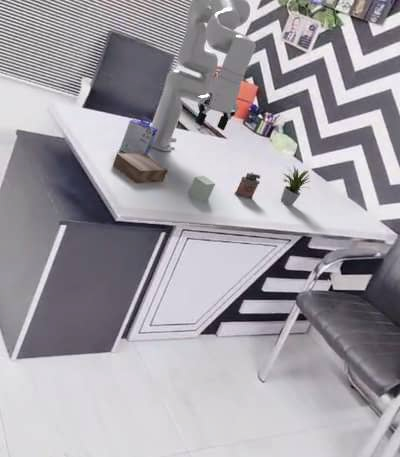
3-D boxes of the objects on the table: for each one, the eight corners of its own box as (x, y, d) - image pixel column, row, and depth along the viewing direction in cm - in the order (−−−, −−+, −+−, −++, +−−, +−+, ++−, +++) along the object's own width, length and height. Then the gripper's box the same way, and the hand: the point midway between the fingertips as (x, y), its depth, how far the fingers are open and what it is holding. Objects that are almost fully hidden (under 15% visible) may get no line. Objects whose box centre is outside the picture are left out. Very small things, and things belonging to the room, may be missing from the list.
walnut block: (140, 166, 190) (145, 153, 188) (162, 182, 185) (167, 170, 183) (112, 166, 179) (117, 153, 177) (135, 184, 174) (140, 170, 172)
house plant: (276, 191, 228) (293, 157, 222) (304, 206, 224) (322, 173, 218) (266, 196, 216) (283, 161, 209) (295, 213, 212) (314, 178, 205)
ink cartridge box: (147, 158, 199) (160, 123, 193) (142, 161, 194) (156, 125, 188) (124, 147, 200) (136, 112, 194) (118, 150, 195) (131, 114, 189)
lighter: (236, 196, 201) (247, 173, 197) (233, 192, 204) (243, 169, 200) (253, 199, 206) (264, 177, 202) (249, 195, 208) (259, 173, 204)
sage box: (196, 193, 188) (203, 175, 185) (207, 200, 185) (215, 183, 183) (187, 194, 183) (194, 176, 181) (198, 202, 181) (206, 184, 178)
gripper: (242, 78, 173) (221, 125, 180) (203, 66, 161) (183, 117, 168) (256, 86, 168) (234, 135, 175) (217, 74, 157) (196, 127, 163)
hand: (209, 126), depth 172 cm, fingers open, 9 cm apart
